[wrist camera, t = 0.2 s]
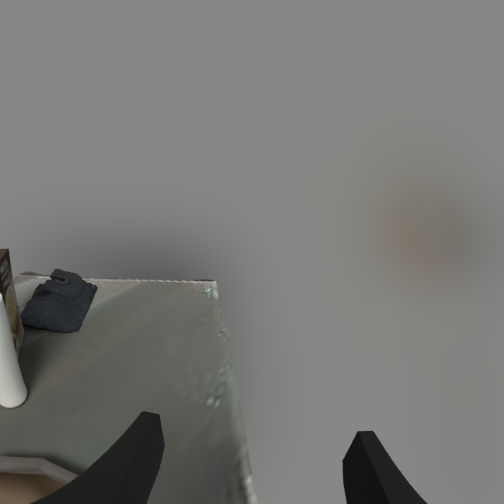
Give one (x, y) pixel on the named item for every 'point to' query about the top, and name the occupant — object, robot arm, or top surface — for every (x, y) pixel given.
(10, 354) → the drinking glass
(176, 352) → the top surface
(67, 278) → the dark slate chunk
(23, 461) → the wooden tray
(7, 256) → the coffee box
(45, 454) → the top surface
